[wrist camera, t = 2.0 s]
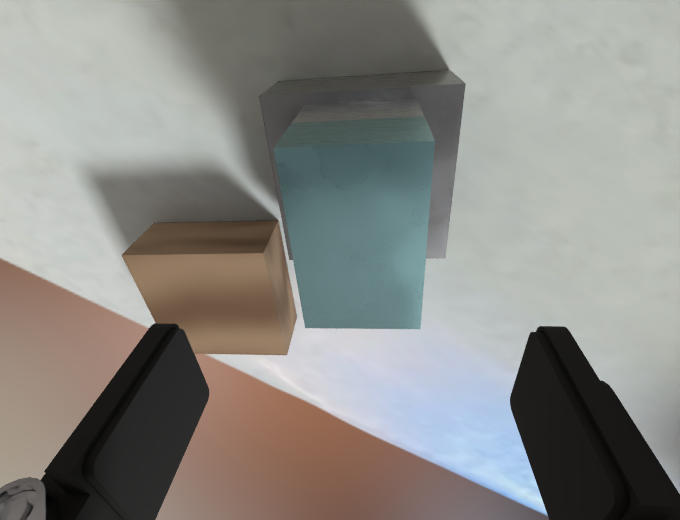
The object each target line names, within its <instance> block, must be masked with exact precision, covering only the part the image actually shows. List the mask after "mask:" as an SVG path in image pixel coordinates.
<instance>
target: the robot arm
mask: <svg viewBox="0 0 680 520" xmlns="http://www.w3.org/2000/svg"><path fill="white" fill-rule="evenodd" d="M208 397H209V388H208V386H207V383H206V381H205V378H204V376H203V374H202V371H201V369H200V366H199V364H198V362H197V360H196V357H195V355H194V352H193V350H192V348H191V345H190V343H189V340H188V338H187V336H186V333H185V331H184V330H183V329H180V328H179V326H178V325H177V324H164V323H155V324H153V325H152V326H151V327H150V328H149V329H148V331H147V332H146V334H145V335H144V336H143V338H142V339H141V340H140V342H139V343H138V344H137V346H136V347H135V348H134V350H133V351H132V353H131V354H130V355H129V357H128V358H127V359H126V361H125V362H124V363H123V365H122V366H121V368H120V369H119V370H118V372H117V373H116V375H115V376H114V377H113V379H112V380H111V381H110V383H109V384H108V385H107V387H106V388H105V389H104V391H103V392H102V393H101V395H100V396H99V398H98V399H97V400H96V402H95V403H94V404H93V406H92V407H91V408H90V410H89V411H88V413H87V414H86V415H85V417H84V418H83V419H82V421H81V422H80V423H79V425H78V426H77V428H76V429H75V430H74V432H73V433H72V435H71V436H70V437H69V438H68V440H67V441H66V443H65V444H64V446H63V447H62V448H61V449H60V451H59V452H58V454H57V455H56V456H55V458H54V459H53V460H52V462H51V463H50V464H49V466H48V467H47V469H46V470H45V471H44V472H45V473H46V474H45V475H44V476H43V478H42V479H41V480H39V479H37V478H31V477H28V478H23V479H18V480H16V481H13V482H11V483H8V484H6V485H4V486H3V487H1V488H0V520H155V519H156V517H157V515H158V512H159V510H160V508H161V505H162V503H163V501H164V499H165V496H166V494H167V492H168V490H169V487H170V485H171V483H172V480H173V478H174V476H175V474H176V471H177V469H178V467H179V465H180V462H181V460H182V458H183V456H184V453H185V451H186V449H187V446H188V444H189V442H190V440H191V437H192V435H193V433H194V431H195V428H196V426H197V424H198V422H199V419H200V417H201V415H202V413H203V410H204V408H205V405H206V403H207V401H208ZM510 405H511V410H512V413H513V416H514V419H515V422H516V424H517V427H518V430H519V433H520V436H521V439H522V442H523V445H524V448H525V450H526V453H527V456H528V459H529V462H530V465H531V468H532V471H533V474H534V476H535V479H536V482H537V485H538V488H539V491H540V494H541V497H542V500H543V502H544V505H545V508H546V511H547V514H548V517H549V520H680V494H679V493H678V491H677V489H676V488H675V486H674V485H673V483H672V482H671V480H670V479H669V477H668V475H667V474H666V472H665V471H664V469H663V468H662V466H661V464H660V463H659V461H658V460H657V458H656V457H655V455H654V453H653V452H652V450H651V449H650V447H649V446H648V444H647V442H646V441H645V439H644V438H643V436H642V435H641V433H640V432H639V430H638V428H637V427H636V425H635V424H634V422H633V421H632V419H631V417H630V416H629V414H628V413H627V411H626V410H625V408H624V406H623V405H622V403H621V402H620V400H619V399H618V397H617V396H616V394H615V392H614V391H613V390H612V388H611V387H610V386H609V385H608V384H607V383H605V382H604V381H600V380H599V378H598V377H597V375H596V373H595V372H594V370H593V369H592V367H591V365H590V364H589V362H588V360H587V359H586V357H585V356H584V354H583V352H582V351H581V349H580V348H579V346H578V344H577V343H576V341H575V339H574V338H573V336H572V335H571V333H570V331H569V330H568V329H567V328H566V327H552V326H540V327H538V328H537V331H536V332H531V333H530V335H529V338H528V341H527V344H526V348H525V351H524V354H523V357H522V361H521V364H520V367H519V370H518V374H517V377H516V380H515V383H514V387H513V390H512V393H511V397H510Z"/></svg>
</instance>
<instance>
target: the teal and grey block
mask: <svg viewBox="0 0 680 520" xmlns="http://www.w3.org/2000/svg"><path fill="white" fill-rule="evenodd" d="M434 147H435V140H434V137H433V135H432V133H431V130H430V128H429V126H428V124H427V121H426V119H425V117H424V114H423V112H422V110H421V107H420V105H419V103H418V101H417V99H408V100H391V101H374V102H357V103H340V104H323V105H305V106H304V107H303V108H302V109H301V111H300V112H299V114H298V115H297V116H296V118H295V119H294V120H293V122H292V123H291V125H290V126H289V127H288V129H287V130H286V131H285V133H284V134H283V136H282V137H281V138H280V140H279V141H278V142H277V144H276V145H275V147H274V148H273V149H274V155H275V160H276V166H277V172H278V177H279V183H280V188H281V194H282V200H283V205H284V211H285V217H286V222H287V228H288V233H289V239H290V245H291V250H292V256H293V262H294V267H295V273H296V278H297V284H298V290H299V295H300V301H301V307H302V312H303V318H304V323H305V328H363V329H420V325H421V312H422V300H423V287H424V274H425V261H426V249H427V236H428V223H429V211H430V198H431V185H432V173H433V160H434Z"/></svg>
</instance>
